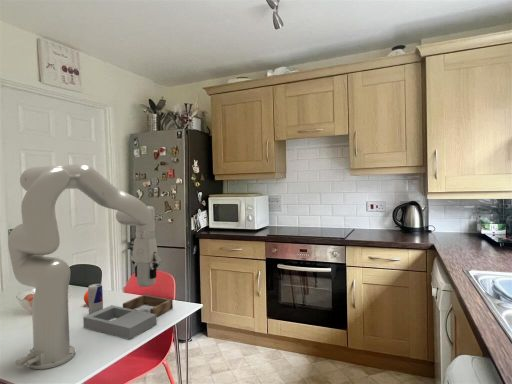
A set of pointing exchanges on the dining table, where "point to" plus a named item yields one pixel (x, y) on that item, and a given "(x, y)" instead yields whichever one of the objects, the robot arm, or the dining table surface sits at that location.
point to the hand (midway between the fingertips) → (145, 276)
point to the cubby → (151, 304)
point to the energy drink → (95, 298)
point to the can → (144, 274)
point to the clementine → (86, 298)
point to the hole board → (120, 321)
